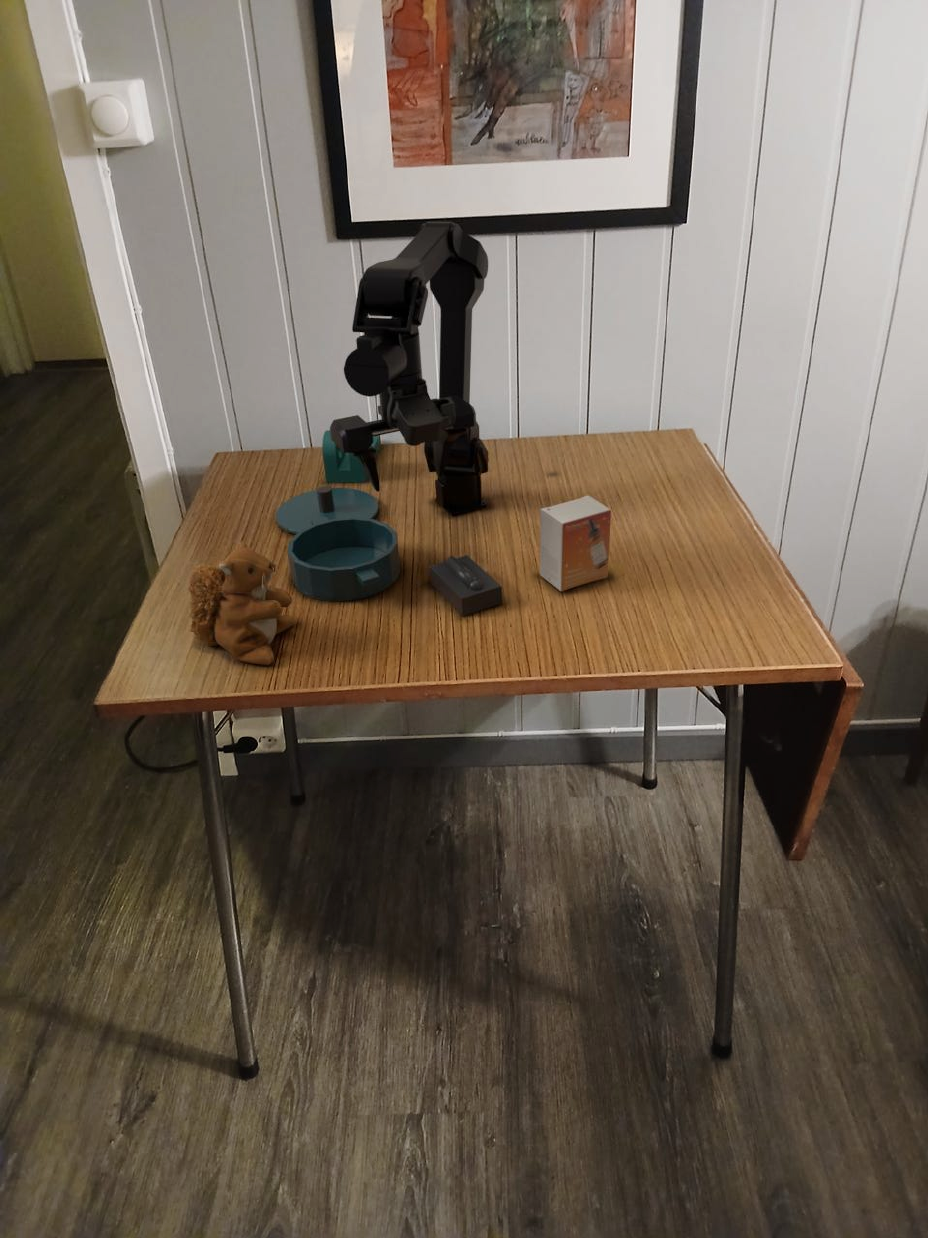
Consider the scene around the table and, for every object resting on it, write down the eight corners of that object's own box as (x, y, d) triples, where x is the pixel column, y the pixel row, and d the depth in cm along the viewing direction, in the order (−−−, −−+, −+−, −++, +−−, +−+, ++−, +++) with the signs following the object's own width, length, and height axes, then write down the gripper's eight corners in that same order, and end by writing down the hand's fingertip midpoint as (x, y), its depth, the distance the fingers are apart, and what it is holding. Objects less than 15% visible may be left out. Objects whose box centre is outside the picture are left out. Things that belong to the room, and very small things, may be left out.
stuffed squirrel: (275, 668, 114) (257, 576, 107) (174, 655, 118) (149, 565, 111) (307, 624, 122) (293, 536, 115) (212, 613, 126) (192, 527, 119)
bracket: (364, 482, 160) (359, 439, 155) (326, 482, 160) (320, 439, 156) (382, 441, 174) (378, 401, 170) (347, 441, 175) (342, 401, 171)
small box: (560, 593, 126) (561, 524, 120) (538, 575, 130) (538, 507, 125) (609, 577, 129) (612, 508, 123) (586, 560, 133) (588, 493, 127)
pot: (369, 531, 144) (365, 501, 141) (426, 590, 128) (423, 558, 126) (273, 556, 139) (268, 527, 136) (320, 622, 123) (315, 589, 120)
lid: (356, 485, 159) (353, 459, 156) (395, 522, 146) (392, 495, 144) (263, 508, 153) (259, 482, 150) (295, 549, 140) (291, 521, 138)
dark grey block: (468, 571, 132) (466, 547, 130) (502, 603, 125) (501, 578, 122) (430, 583, 130) (428, 558, 128) (462, 616, 122) (461, 590, 120)
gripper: (351, 402, 109) (364, 521, 117) (493, 374, 115) (496, 489, 124) (321, 376, 118) (336, 489, 126) (455, 352, 124) (460, 461, 132)
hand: (408, 483), depth 127 cm, fingers open, 9 cm apart
